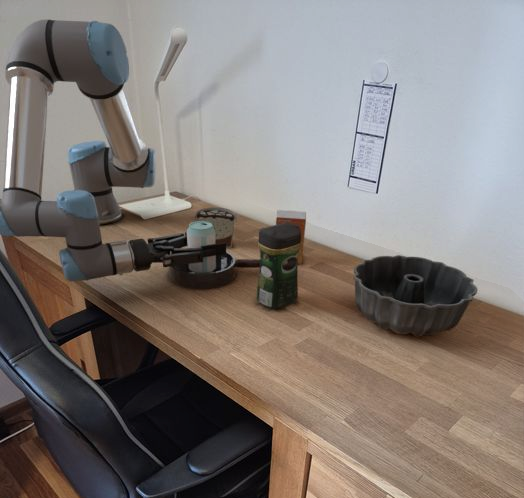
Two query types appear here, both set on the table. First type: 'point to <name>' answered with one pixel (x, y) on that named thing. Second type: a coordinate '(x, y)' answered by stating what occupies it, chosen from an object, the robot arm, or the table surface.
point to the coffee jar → (278, 265)
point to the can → (198, 237)
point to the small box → (296, 219)
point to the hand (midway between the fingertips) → (219, 242)
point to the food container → (219, 223)
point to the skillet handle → (247, 263)
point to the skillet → (205, 274)
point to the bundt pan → (412, 294)
